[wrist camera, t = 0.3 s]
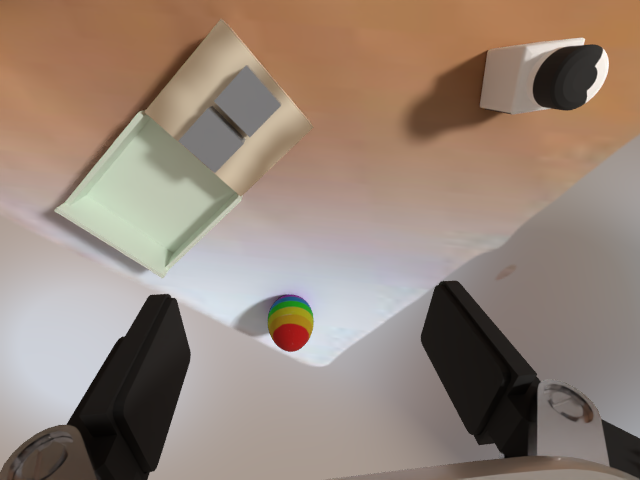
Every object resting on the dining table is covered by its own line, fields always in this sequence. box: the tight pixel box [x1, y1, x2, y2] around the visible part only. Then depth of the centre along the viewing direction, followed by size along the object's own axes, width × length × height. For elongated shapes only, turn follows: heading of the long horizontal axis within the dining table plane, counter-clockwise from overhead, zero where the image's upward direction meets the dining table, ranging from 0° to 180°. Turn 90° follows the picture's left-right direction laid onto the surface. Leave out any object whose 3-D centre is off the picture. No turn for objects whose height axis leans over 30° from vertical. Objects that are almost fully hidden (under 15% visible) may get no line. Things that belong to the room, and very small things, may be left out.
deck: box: [145, 19, 313, 196], centre depth 37 cm, size 14×13×5 cm
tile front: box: [214, 65, 281, 137], centre depth 33 cm, size 5×5×2 cm
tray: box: [54, 110, 243, 278], centre depth 40 cm, size 15×17×6 cm
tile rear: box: [179, 106, 246, 173], centre depth 34 cm, size 5×5×2 cm
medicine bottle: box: [480, 38, 609, 114], centre depth 35 cm, size 7×7×12 cm
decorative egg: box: [268, 295, 313, 352], centre depth 52 cm, size 8×8×10 cm
